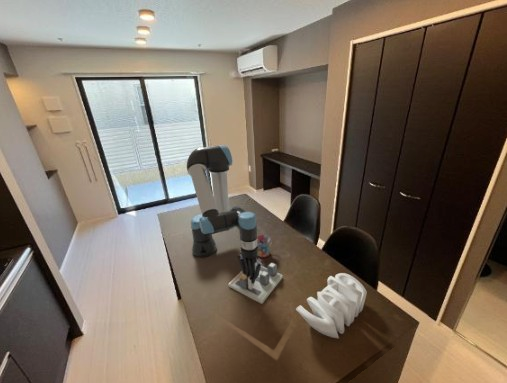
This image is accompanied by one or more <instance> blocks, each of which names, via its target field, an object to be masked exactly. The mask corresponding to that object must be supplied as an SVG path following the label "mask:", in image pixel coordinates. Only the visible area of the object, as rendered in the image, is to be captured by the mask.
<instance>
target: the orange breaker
mask: <svg viewBox="0 0 507 383" xmlns="http://www.w3.org/2000/svg"><path fill="white" fill-rule="evenodd" d="M240 287H241V288H243V289H245V290H246V289H247V288H248V281H247V276H246V275H243V276H242V277H241V278H240Z"/></svg>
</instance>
